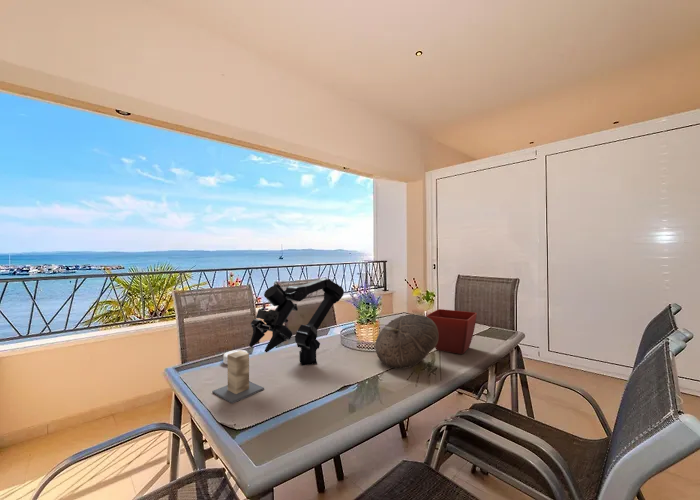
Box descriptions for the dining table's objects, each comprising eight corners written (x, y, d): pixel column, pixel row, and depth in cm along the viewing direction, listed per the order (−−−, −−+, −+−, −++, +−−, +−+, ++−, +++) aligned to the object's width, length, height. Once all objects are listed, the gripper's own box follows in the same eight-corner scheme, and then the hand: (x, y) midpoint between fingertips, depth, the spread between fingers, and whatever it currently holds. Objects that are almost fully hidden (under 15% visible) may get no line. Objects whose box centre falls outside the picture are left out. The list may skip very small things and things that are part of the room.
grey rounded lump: (357, 362, 129) (366, 307, 139) (398, 373, 139) (404, 320, 149) (399, 365, 106) (406, 298, 117) (445, 377, 116) (448, 314, 126)
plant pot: (425, 350, 142) (425, 315, 142) (439, 340, 158) (438, 308, 158) (468, 358, 131) (467, 320, 131) (477, 346, 147) (477, 312, 147)
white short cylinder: (239, 366, 125) (239, 357, 125) (218, 364, 127) (218, 356, 127) (252, 358, 135) (252, 350, 135) (232, 356, 137) (232, 348, 137)
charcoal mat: (244, 380, 111) (244, 378, 111) (264, 389, 103) (264, 387, 103) (212, 392, 101) (212, 390, 101) (231, 403, 94) (231, 401, 94)
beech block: (240, 384, 106) (240, 350, 106) (249, 388, 103) (248, 353, 103) (227, 389, 102) (227, 354, 102) (235, 394, 99) (235, 357, 99)
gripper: (254, 298, 118) (228, 332, 110) (285, 303, 107) (259, 342, 98) (271, 314, 124) (248, 348, 116) (302, 321, 113) (279, 358, 104)
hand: (257, 349), depth 108 cm, fingers open, 9 cm apart
